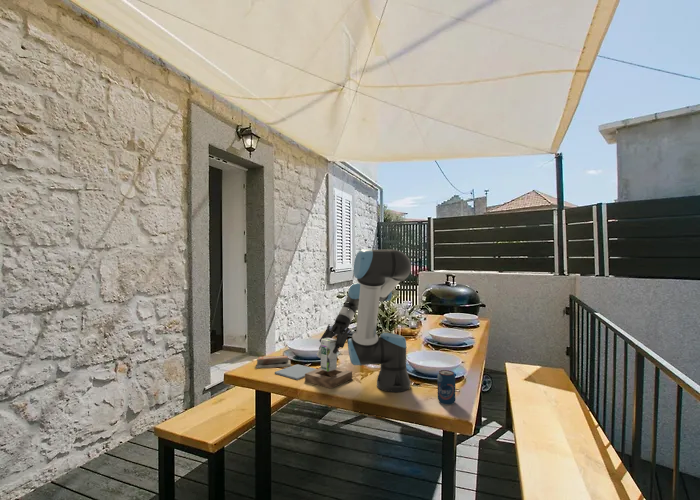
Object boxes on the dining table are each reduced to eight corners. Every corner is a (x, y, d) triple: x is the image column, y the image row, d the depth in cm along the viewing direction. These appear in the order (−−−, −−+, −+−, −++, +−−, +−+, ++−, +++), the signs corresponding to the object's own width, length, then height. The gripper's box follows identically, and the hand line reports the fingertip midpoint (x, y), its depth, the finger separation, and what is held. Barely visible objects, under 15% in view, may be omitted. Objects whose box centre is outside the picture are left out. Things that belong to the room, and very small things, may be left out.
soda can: (438, 405, 138) (438, 374, 138) (436, 398, 145) (436, 369, 145) (456, 406, 137) (456, 375, 137) (454, 399, 143) (454, 369, 144)
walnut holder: (352, 378, 168) (352, 371, 168) (331, 388, 155) (331, 380, 155) (326, 372, 178) (326, 365, 178) (305, 381, 165) (305, 373, 165)
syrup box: (320, 369, 167) (320, 339, 168) (329, 366, 171) (329, 337, 172) (328, 372, 163) (328, 340, 164) (337, 369, 167) (337, 338, 168)
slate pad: (319, 371, 179) (319, 369, 179) (297, 380, 166) (297, 378, 166) (297, 365, 189) (297, 364, 189) (274, 373, 176) (274, 371, 176)
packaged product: (256, 360, 184) (257, 354, 194) (256, 369, 184) (257, 363, 194) (290, 358, 188) (290, 353, 198) (290, 367, 188) (290, 361, 197)
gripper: (362, 324, 175) (343, 365, 161) (333, 321, 186) (312, 358, 172) (356, 315, 171) (336, 356, 157) (326, 312, 182) (305, 350, 168)
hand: (323, 357), depth 165 cm, fingers closed on syrup box, 6 cm apart
